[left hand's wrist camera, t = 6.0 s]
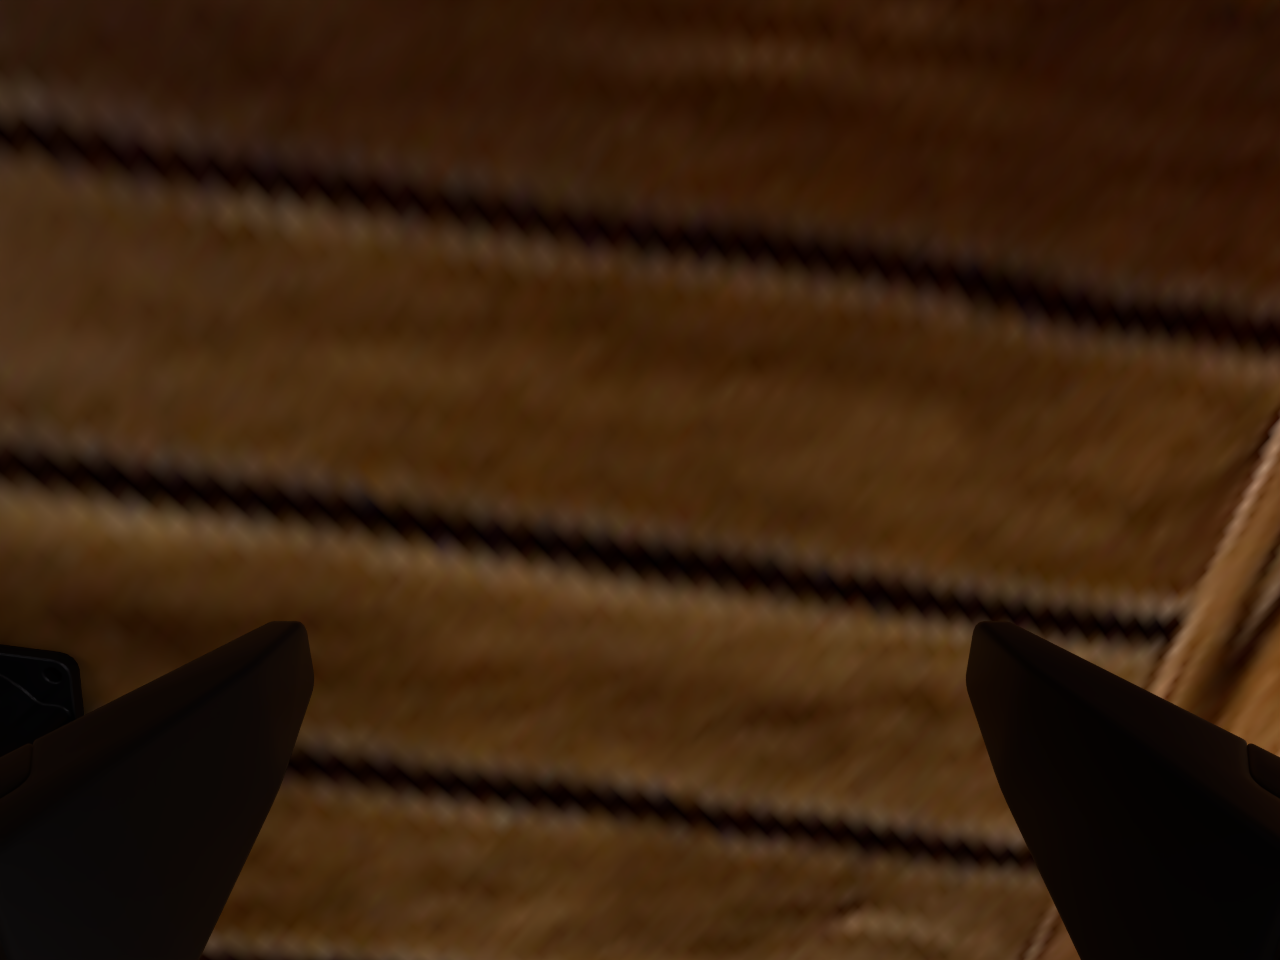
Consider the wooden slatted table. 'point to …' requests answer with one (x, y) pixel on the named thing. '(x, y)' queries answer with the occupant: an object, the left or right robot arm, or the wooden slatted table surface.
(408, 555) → the wooden slatted table surface
